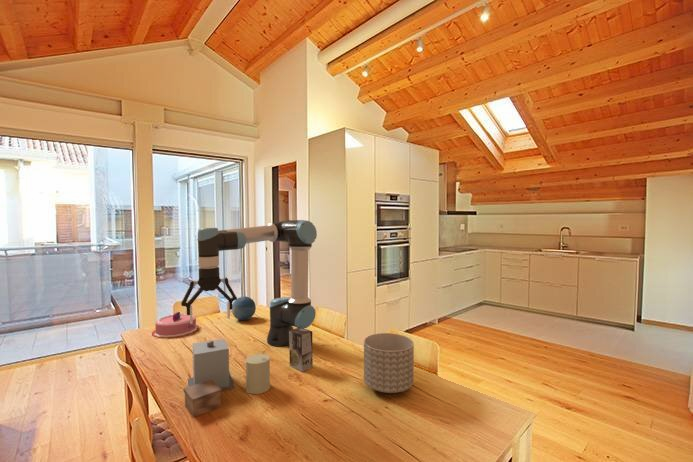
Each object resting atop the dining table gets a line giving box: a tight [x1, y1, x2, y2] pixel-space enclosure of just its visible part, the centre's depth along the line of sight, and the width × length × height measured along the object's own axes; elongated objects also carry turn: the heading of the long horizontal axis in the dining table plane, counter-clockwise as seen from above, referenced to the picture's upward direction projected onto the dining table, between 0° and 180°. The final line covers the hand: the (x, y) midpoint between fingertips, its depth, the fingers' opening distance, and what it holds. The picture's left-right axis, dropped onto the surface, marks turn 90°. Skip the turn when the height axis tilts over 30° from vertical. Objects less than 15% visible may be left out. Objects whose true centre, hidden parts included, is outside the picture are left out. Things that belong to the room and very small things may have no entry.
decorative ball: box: [231, 296, 257, 321], centre depth 215 cm, size 15×15×15 cm
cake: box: [151, 311, 200, 339], centre depth 195 cm, size 25×25×11 cm
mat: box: [187, 371, 236, 391], centre depth 132 cm, size 16×16×1 cm
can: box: [245, 353, 271, 395], centre depth 129 cm, size 9×9×12 cm
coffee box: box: [288, 327, 314, 372], centre depth 147 cm, size 9×6×16 cm
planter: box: [363, 332, 415, 394], centre depth 129 cm, size 19×19×18 cm
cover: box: [192, 338, 230, 388], centre depth 132 cm, size 12×12×16 cm
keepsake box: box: [183, 380, 223, 418], centre depth 116 cm, size 10×10×6 cm
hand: (210, 320), depth 131 cm, fingers open, 13 cm apart
